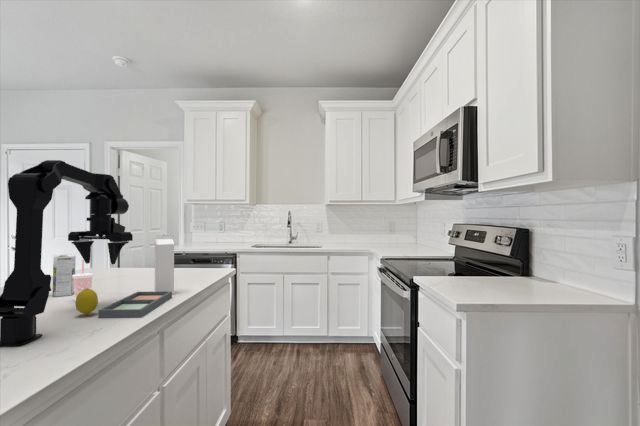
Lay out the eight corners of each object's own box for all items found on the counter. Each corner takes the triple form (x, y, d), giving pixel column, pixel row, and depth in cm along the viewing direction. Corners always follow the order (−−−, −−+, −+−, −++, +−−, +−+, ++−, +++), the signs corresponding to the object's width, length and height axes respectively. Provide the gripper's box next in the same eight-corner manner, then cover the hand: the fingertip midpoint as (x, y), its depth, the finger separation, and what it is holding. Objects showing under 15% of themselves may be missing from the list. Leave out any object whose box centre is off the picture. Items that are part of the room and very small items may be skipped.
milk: (154, 293, 131) (154, 235, 131) (171, 291, 134) (171, 234, 135) (156, 296, 126) (156, 235, 126) (174, 294, 129) (174, 235, 129)
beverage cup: (91, 301, 118) (92, 260, 118) (70, 303, 116) (70, 261, 116) (94, 297, 124) (94, 258, 124) (73, 299, 121) (74, 259, 121)
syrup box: (56, 293, 130) (56, 254, 130) (75, 292, 132) (75, 254, 132) (52, 297, 124) (52, 256, 124) (72, 295, 127) (72, 255, 127)
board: (141, 317, 101) (141, 309, 101) (98, 317, 100) (98, 310, 100) (171, 297, 125) (171, 291, 125) (137, 297, 124) (137, 291, 124)
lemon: (86, 318, 99) (86, 290, 99) (70, 317, 100) (70, 289, 100) (102, 313, 105) (102, 286, 105) (86, 312, 106) (86, 285, 106)
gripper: (144, 214, 116) (144, 261, 116) (95, 214, 119) (95, 259, 119) (119, 214, 105) (119, 266, 105) (66, 214, 108) (66, 264, 108)
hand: (100, 263), depth 110 cm, fingers open, 9 cm apart
